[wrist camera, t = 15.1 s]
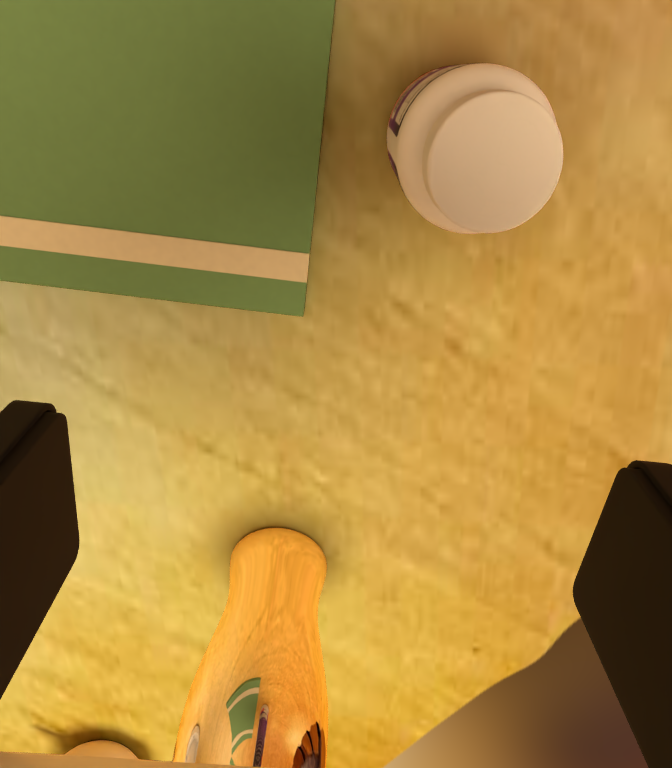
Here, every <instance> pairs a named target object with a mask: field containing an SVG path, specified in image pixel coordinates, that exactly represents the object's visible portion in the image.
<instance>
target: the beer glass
mask: <svg viewBox="0 0 672 768" xmlns="http://www.w3.org/2000/svg"><path fill="white" fill-rule="evenodd" d="M326 572H327V563H326V558H325V555H324V553H323V551H322V550H321V548H320V547H319V546H318V545H317V544H316V543H315V542H314V541H313V540H312V539H311V538H309V537H308V536H306V535H304V534H302V533H300V532H297V531H294V530H290V529H285V528H266V529H261V530H258V531H255V532H252V533H250V534H248V535H247V536H245V537H244V538H243V539H241V540H240V541H239V542H238V544H237V545H236V546H235V548H234V550H233V552H232V555H231V559H230V587H229V595H228V600H227V604H226V607H225V610H224V612H223V615H222V617H221V619H220V622H219V624H218V626H217V628H216V630H215V632H214V634H213V637H212V639H211V641H210V643H209V645H208V647H207V649H206V652H205V654H204V656H203V658H202V660H201V663H200V665H199V667H198V670H197V672H196V675H195V678H194V680H193V683H192V685H191V688H190V690H189V694H188V697H187V700H186V704H185V707H184V711H183V714H182V717H181V722H180V726H179V730H178V735H177V739H176V744H175V749H174V754H173V759H172V762H187V763H203V764H219V765H235V766H250V767H266V768H326V758H327V742H328V698H327V687H326V677H325V670H324V663H323V656H322V649H321V643H320V636H319V628H318V604H319V599H320V595H321V592H322V588H323V585H324V581H325V578H326Z"/></svg>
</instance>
